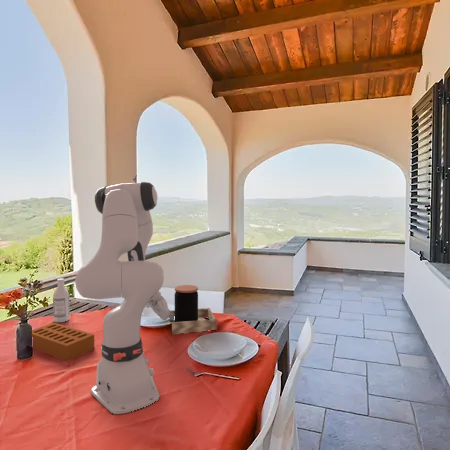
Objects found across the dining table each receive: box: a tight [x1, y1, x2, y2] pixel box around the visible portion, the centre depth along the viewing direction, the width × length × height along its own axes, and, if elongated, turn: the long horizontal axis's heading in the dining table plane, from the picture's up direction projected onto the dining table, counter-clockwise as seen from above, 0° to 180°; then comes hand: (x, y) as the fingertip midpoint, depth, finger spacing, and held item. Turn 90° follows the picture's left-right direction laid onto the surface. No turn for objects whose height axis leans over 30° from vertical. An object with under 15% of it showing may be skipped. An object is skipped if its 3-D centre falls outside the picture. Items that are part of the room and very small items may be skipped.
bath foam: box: [52, 277, 71, 324], centre depth 162 cm, size 7×7×20 cm
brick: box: [31, 322, 95, 362], centre depth 134 cm, size 25×12×6 cm, turn 60°
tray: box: [170, 307, 217, 335], centre depth 158 cm, size 20×17×5 cm
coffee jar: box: [174, 284, 199, 322], centre depth 157 cm, size 11×11×18 cm
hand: (173, 317), depth 156 cm, fingers closed, pressing on coffee jar
